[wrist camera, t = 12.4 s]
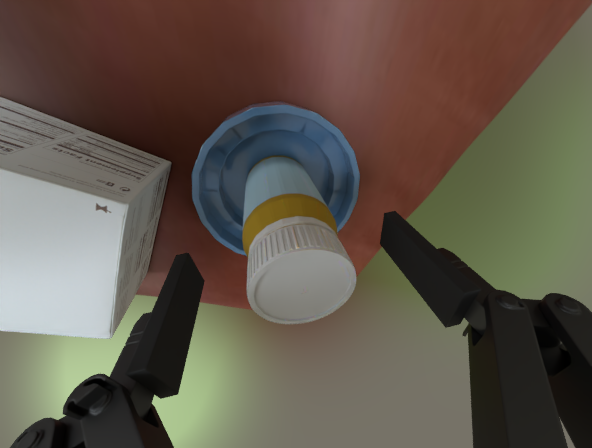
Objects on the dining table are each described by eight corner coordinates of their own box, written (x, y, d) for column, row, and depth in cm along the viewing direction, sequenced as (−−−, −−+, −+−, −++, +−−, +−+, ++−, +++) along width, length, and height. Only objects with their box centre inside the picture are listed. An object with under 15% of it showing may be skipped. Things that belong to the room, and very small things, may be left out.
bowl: (166, 145, 21) (147, 159, 17) (319, 70, 19) (335, 67, 16) (248, 254, 30) (248, 278, 26) (356, 207, 29) (371, 226, 25)
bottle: (295, 217, 27) (331, 331, 14) (239, 203, 24) (225, 325, 12) (317, 165, 24) (388, 255, 11) (255, 143, 21) (259, 228, 9)
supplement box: (-11, 90, 16) (-240, 97, 9) (174, 160, 22) (130, 203, 14) (14, 248, 24) (-100, 328, 16) (148, 273, 29) (110, 343, 21)
